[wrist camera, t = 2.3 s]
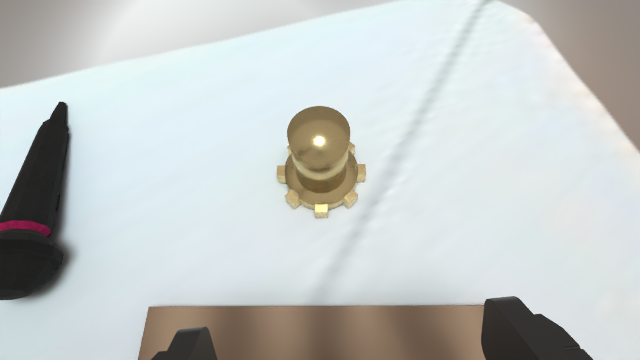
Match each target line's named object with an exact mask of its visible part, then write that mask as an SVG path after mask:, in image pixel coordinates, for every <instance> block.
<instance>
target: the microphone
mask: <svg viewBox="0 0 640 360" xmlns="http://www.w3.org/2000/svg"><path fill="white" fill-rule="evenodd" d="M65 116H66V103H64V102H59V103H58V105H57V107H56V108H55V110H54V111H53V113H52V115H51V117H50V119H49V120H47V121H45V122H43V124H42V125H41V127H40V128H39V130H38V132H37V134H36V136H35V139H34V141H33V143H32V145H31V148H30V150H29V152H28V154H27V156H26V159H25V161H24V163H23V165H22V168H21V170H20V172H19V174H18V177H17V179H16V181H15V183H14V185H13V188H12V190H11V192H10V194H9V197H8V199H7V201H6V203H5V206H4V208H3V210H2V212H1V214H0V300H13V299H18V298H22V297H25V296H27V295H29V294H31V293H33V292H35V291H37V290H39V289H40V288H41V287H42V286H43V285H44V284H45V283H46V282H47V281H48V279H49V278H50V277H51V275H52V274H53V272H54V271H55V270H56V269H57V268H58V267H59V266H60V265H61V264H62V260H63V254H62V253H61V252H60V251H59V250H58V249H57V248H56V247H55V244H54V243H53V242H52V241H51V240H50V239H49V238H47V236H48V235H49V234H50V233H51V232H52V228H53V222H54V216H55V212H56V211H57V209H58V204H59V198H60V195H59V194H58V193H59V188H60V182H61V176H62V170H63V164H64V159H65V153H66V147H67V141H68V135H69V134H68V133H67V132H68V127H67V126H66V125H65V123H64V122H65Z"/></svg>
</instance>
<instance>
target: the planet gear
mask: <svg viewBox="0 0 640 360" xmlns="http://www.w3.org/2000/svg"><path fill="white" fill-rule="evenodd" d="M287 137H288V141H289V146H288V147H287V149H288V153H289V157H288V159H287V161H286V165H285V166H277V178H278V181H279V183H287V186H288V189H289V192H288V193H287V194H286V195H285V198H286V201H287V203H288V204H289V205H290V206H291V207H293V208H294V209H296V208H297V207H298V206H299V205H300V204H301V205H302V206H304V207H306V208H309V209H312V210H315V215H316V218H328V214H327V210H330V209H334V208H336V207H338V206H340V205H342V204H344V205H345V206H346V207H347V208H348V209H349V208H350V207H351V206H352V205H353V204H354V203H355V202H356V201H357V197H358V194H356V193H355V192H354V190H355V186H356V182H364V180H365V176H366V170H365V164H357V162H356V160H355V157H354V156H353V155H354V151H355V145H353V144H352V143H351V142H350V141H349V140H350V127H349V124H348V122H347V120H346V118H345V117H344V116H343V115H342V114H341V113H340V112H338V111H336V110H334V109H332V108H329V107H324V106H315V107H310V108H307V109H304V110H302V111H300V112H299V113H298V114H296V115H295V116H294V117H293V119H292V120H291V122H290V124H289V126H288V130H287Z"/></svg>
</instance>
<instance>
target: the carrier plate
mask: <svg viewBox="0 0 640 360" xmlns="http://www.w3.org/2000/svg"><path fill="white" fill-rule="evenodd" d="M483 313H484V305H466V306H207V307H149V309H148V314H147V318H146V323H145V328H144V333H143V337H142V342H141V347H140V352H139V357H138V360H151V359H152V358H153V357H154V356H155V355H156V354H157V352H159V351H167V350H168V348H169V346H170V344H171V342H172V340H173V338H174V336H175V334H176V332H177V331H178V330H179V329H186V328H196V327H207V328H208V329H209V331H210V335H211V338H212V342H213V345H214V349H215V353H216V356H217V360H486V359H485V356H484V354H483V350H482V346H481V333H482V323H483Z"/></svg>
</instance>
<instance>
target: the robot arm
mask: <svg viewBox="0 0 640 360" xmlns="http://www.w3.org/2000/svg"><path fill="white" fill-rule="evenodd" d="M481 346H482V350H483V354H484V356H485V359H486V360H593V359H592V358H591V357H590V356H589V355H588V354H587V353H586V352H585V351H584V350H583V349H581V348H580V345H579V344H578V343H577V342H576V341H575V340H574V339H573V338H572V337H571V336H570V335H569V334H568V333H567V332H566V331H565V330H564V329H563V328H562V327H560V326H559V325H557V324H556V323H554V322H553V321H551V320H550V319H548V318H546V317H545V316H543V315H542V314H533V313H532V312H531V311H530V310H529V309H528V308H527V307H526V306H525V304H524V303H523V302H522V301H521V300H520V299H519V298H517V297H515V296H511V297H501V298H491V299H487V300H486V301H485V304H484V313H483V323H482V333H481ZM151 360H217V356H216V353H215V349H214V345H213V342H212V338H211V335H210V331H209V329H208V328H207V327H196V328H186V329H179V330H178V331H177V332H176V334H175V336H174V338H173V340H172V342H171V344H170V346H169V348H168V350H167V351H159V352H157V354H156V355H155V356H154V357H153V358H152V359H151Z"/></svg>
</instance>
